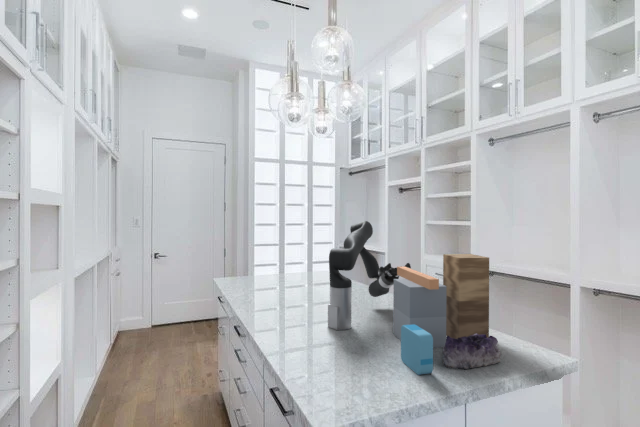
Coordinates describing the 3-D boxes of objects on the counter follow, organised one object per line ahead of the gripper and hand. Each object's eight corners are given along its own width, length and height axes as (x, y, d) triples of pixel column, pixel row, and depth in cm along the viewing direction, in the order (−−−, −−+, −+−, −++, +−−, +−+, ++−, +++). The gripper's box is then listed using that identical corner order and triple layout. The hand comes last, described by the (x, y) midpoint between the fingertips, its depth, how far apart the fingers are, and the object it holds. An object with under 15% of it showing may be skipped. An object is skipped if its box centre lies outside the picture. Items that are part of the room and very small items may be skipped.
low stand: (446, 347, 127) (446, 286, 127) (409, 349, 125) (409, 287, 125) (426, 332, 143) (426, 278, 143) (393, 333, 141) (393, 279, 141)
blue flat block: (433, 375, 105) (433, 335, 105) (419, 376, 104) (419, 336, 104) (412, 359, 117) (413, 322, 117) (400, 360, 115) (400, 323, 115)
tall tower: (488, 342, 132) (489, 257, 132) (459, 344, 130) (459, 258, 130) (470, 332, 143) (470, 253, 143) (442, 333, 142) (443, 254, 142)
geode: (462, 377, 104) (458, 342, 105) (435, 367, 115) (431, 335, 116) (509, 362, 113) (505, 330, 114) (480, 354, 123) (476, 325, 124)
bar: (438, 289, 122) (438, 279, 122) (429, 289, 122) (429, 279, 122) (404, 274, 152) (404, 266, 152) (397, 274, 151) (397, 266, 151)
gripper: (372, 270, 168) (382, 257, 154) (401, 270, 170) (413, 256, 156) (375, 285, 164) (385, 273, 150) (404, 285, 166) (416, 272, 152)
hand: (399, 265), depth 153 cm, fingers open, 8 cm apart
